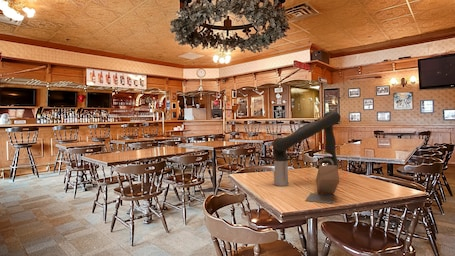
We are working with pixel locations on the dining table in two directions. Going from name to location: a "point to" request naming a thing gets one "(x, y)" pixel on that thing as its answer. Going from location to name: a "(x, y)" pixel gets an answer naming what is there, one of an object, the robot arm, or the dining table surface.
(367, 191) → the dining table surface
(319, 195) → the mat
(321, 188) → the block
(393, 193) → the dining table surface
